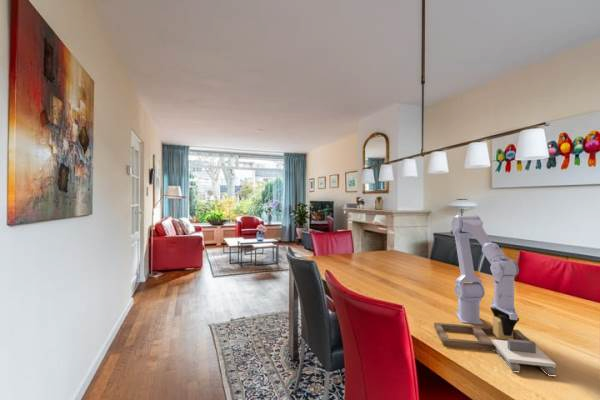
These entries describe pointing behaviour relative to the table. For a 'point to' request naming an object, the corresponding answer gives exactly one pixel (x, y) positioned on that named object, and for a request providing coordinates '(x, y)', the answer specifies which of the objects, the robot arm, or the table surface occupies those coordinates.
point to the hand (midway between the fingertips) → (504, 331)
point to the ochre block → (499, 329)
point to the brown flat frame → (480, 341)
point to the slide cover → (523, 352)
